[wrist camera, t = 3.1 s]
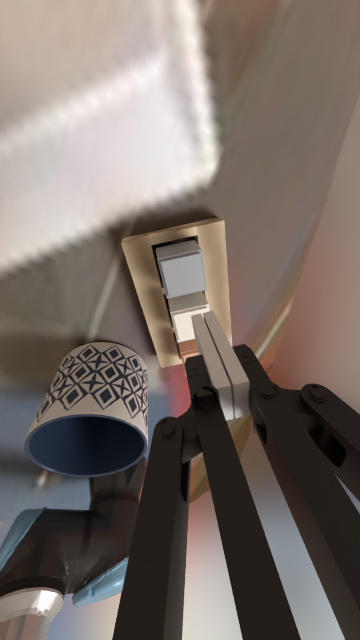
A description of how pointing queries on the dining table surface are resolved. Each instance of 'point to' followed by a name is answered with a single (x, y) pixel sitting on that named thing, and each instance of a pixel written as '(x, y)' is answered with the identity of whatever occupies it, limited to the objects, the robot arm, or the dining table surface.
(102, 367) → the planter
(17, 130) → the dining table surface
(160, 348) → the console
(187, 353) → the key
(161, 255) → the key
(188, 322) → the key mid
